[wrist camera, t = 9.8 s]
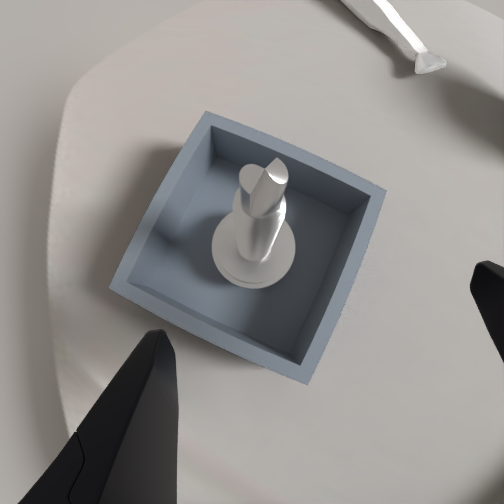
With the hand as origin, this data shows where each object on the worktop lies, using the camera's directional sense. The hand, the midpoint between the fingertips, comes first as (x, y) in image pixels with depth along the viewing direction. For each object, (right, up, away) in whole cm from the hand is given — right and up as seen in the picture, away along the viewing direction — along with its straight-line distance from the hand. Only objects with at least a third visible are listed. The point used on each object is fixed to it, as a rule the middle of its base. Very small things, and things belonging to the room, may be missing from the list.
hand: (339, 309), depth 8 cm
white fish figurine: (+10, +26, +18) cm, 33 cm away
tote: (-2, +1, +14) cm, 14 cm away
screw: (-2, +1, +13) cm, 13 cm away
